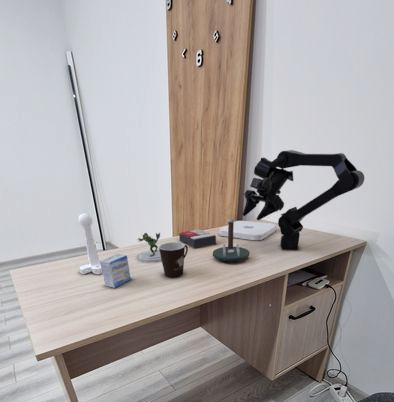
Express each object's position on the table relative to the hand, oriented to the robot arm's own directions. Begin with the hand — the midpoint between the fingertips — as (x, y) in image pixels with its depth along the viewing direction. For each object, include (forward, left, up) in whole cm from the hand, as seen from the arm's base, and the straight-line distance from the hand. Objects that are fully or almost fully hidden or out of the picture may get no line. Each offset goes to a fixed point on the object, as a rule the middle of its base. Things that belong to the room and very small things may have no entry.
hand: (250, 217), depth 117 cm
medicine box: (+41, +38, -13) cm, 57 cm away
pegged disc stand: (+6, +11, -12) cm, 17 cm away
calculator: (+23, -9, -13) cm, 28 cm away
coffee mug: (+23, +28, -13) cm, 39 cm away
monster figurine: (+37, +12, -13) cm, 41 cm away
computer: (+1, -26, -13) cm, 29 cm away
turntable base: (+6, +11, -13) cm, 18 cm away
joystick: (+53, +29, -13) cm, 62 cm away
